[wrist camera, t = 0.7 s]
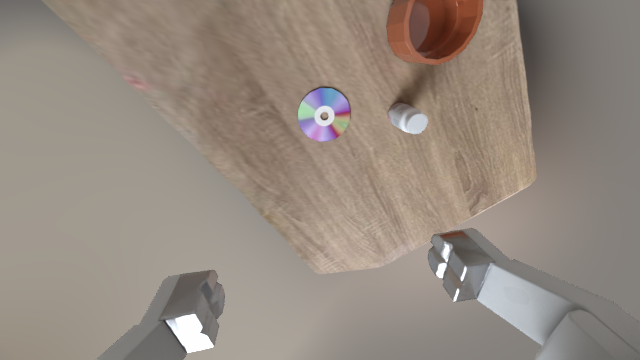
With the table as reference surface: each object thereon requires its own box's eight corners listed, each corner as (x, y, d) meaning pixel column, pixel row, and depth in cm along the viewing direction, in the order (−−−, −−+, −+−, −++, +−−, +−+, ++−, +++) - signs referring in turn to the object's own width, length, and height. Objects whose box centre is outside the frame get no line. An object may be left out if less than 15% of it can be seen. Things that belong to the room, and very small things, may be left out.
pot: (381, -8, 39) (400, -20, 33) (453, -33, 39) (487, -50, 32) (390, 71, 45) (407, 74, 39) (451, 50, 45) (479, 50, 39)
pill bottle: (404, 125, 52) (424, 137, 44) (384, 123, 51) (401, 135, 43) (411, 103, 49) (433, 112, 42) (391, 100, 48) (410, 109, 41)
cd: (314, 150, 51) (314, 150, 51) (287, 106, 46) (287, 106, 46) (358, 124, 50) (358, 125, 50) (335, 76, 44) (335, 76, 44)
